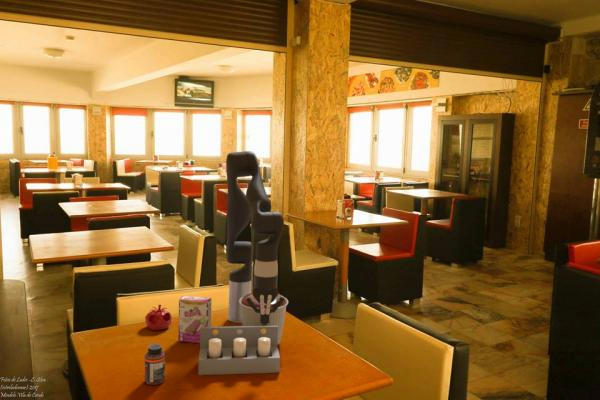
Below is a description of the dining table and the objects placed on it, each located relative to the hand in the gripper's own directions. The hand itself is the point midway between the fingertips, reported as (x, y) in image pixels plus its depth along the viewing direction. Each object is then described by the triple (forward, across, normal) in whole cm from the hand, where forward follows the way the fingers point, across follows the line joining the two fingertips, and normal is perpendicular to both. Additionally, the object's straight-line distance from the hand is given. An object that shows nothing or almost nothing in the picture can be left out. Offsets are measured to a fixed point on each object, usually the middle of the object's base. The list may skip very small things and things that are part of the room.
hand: (264, 324), depth 160 cm
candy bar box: (+15, +24, -24) cm, 37 cm away
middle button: (+10, +8, 0) cm, 13 cm away
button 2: (+10, 0, 0) cm, 10 cm away
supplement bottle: (+15, +34, +6) cm, 38 cm away
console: (+15, +8, -2) cm, 17 cm away
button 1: (+10, +16, 0) cm, 19 cm away
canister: (+15, -1, -20) cm, 25 cm away
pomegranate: (+15, +39, -38) cm, 56 cm away
